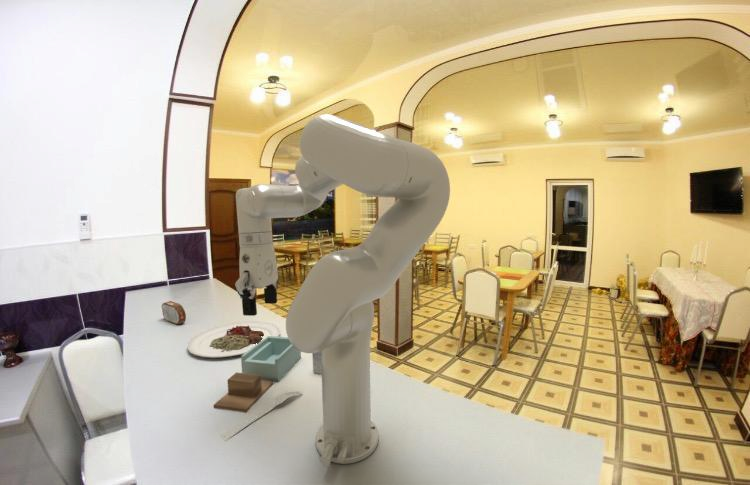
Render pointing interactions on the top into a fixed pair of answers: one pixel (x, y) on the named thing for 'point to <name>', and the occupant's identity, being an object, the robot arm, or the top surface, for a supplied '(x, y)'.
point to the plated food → (230, 339)
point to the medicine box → (317, 362)
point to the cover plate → (243, 392)
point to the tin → (173, 312)
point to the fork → (278, 400)
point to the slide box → (270, 358)
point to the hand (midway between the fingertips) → (261, 308)
